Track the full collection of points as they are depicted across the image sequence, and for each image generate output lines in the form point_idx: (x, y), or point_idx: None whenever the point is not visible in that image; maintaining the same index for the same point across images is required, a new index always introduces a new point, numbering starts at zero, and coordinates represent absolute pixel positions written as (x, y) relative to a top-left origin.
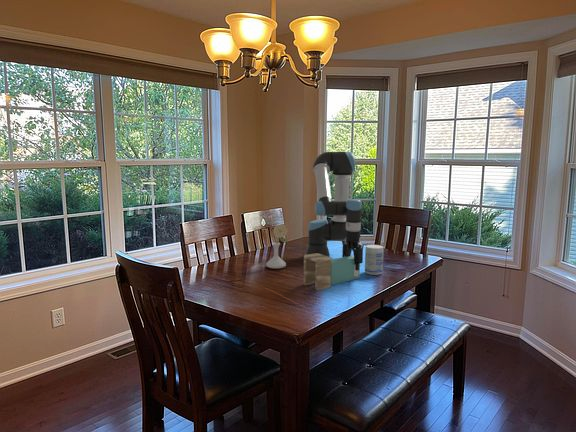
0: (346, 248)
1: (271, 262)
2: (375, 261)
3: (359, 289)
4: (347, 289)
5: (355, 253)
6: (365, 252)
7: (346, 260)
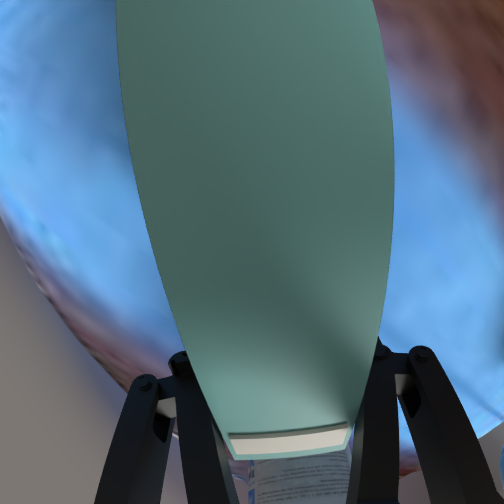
0: (433, 480)
1: None
2: (256, 465)
3: (61, 186)
4: (82, 111)
5: (188, 485)
6: (341, 491)
7: (170, 290)
